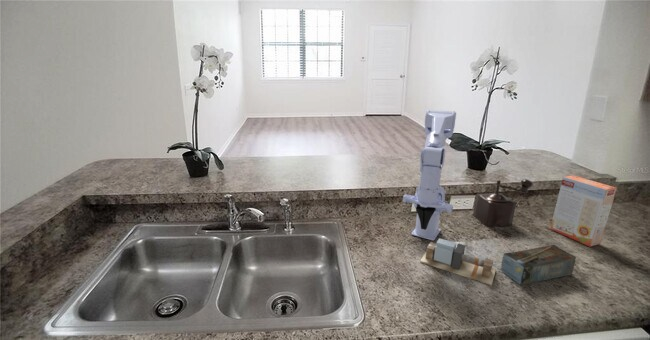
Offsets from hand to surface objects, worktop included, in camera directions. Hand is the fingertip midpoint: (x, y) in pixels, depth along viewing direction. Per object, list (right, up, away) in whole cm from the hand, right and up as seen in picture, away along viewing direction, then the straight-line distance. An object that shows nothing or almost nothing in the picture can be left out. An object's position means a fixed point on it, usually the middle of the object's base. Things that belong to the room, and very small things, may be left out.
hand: (424, 228), depth 103 cm
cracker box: (+58, -6, +16) cm, 61 cm away
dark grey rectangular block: (+9, -11, -3) cm, 15 cm away
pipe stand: (+9, -11, -3) cm, 15 cm away
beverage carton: (+31, -13, -5) cm, 34 cm away
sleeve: (+6, -9, -1) cm, 11 cm away
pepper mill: (+37, -2, +28) cm, 47 cm away
